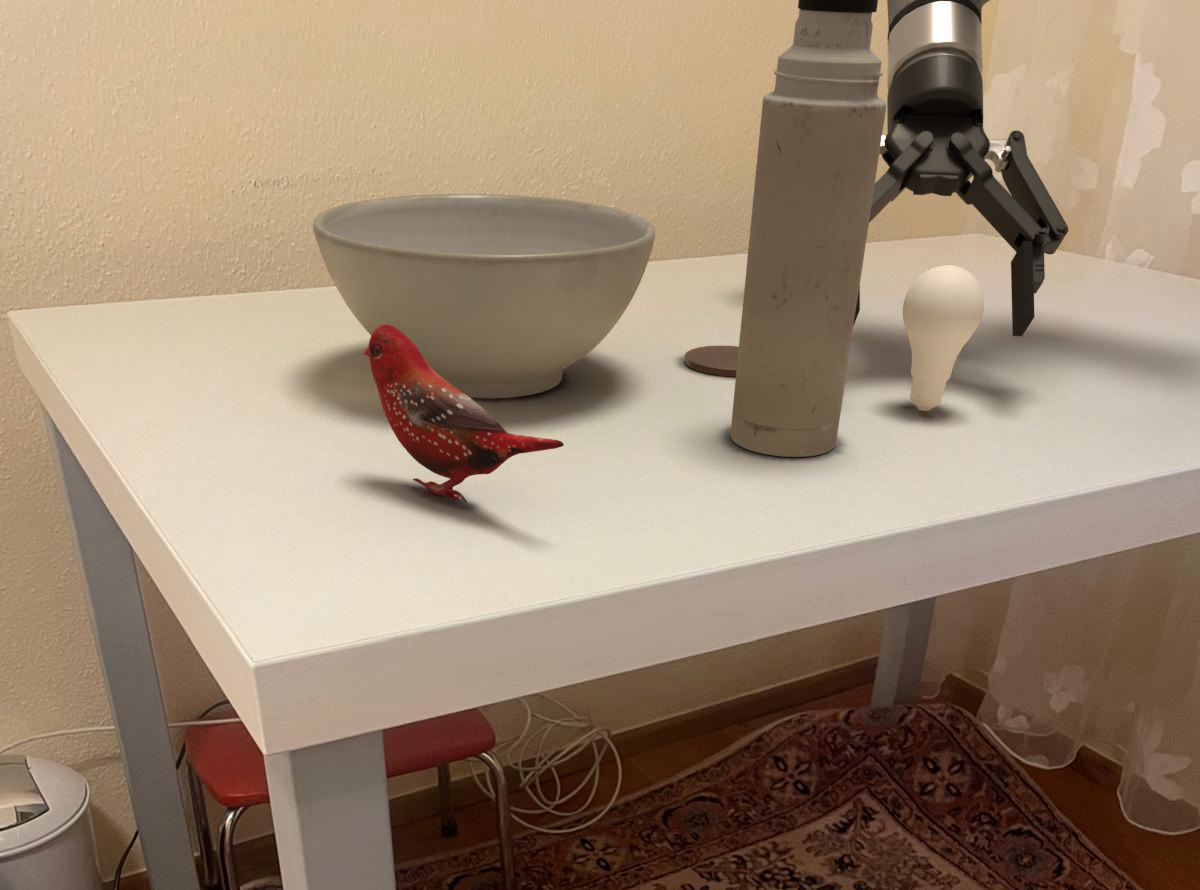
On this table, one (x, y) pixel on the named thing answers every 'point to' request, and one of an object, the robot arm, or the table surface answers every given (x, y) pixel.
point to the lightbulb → (939, 327)
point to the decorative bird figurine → (439, 416)
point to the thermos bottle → (808, 232)
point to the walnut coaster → (713, 360)
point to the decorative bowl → (488, 280)
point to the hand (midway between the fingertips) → (937, 323)
